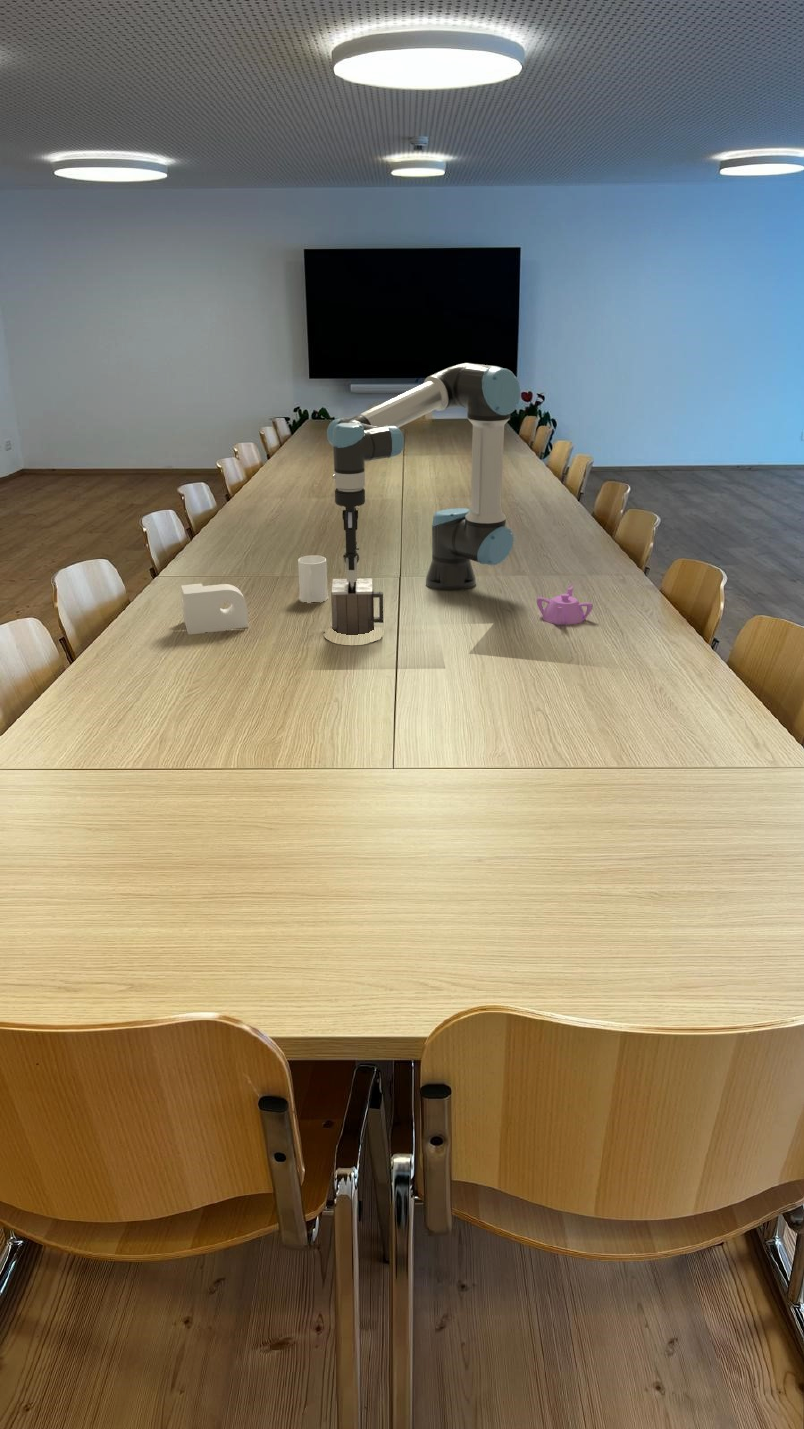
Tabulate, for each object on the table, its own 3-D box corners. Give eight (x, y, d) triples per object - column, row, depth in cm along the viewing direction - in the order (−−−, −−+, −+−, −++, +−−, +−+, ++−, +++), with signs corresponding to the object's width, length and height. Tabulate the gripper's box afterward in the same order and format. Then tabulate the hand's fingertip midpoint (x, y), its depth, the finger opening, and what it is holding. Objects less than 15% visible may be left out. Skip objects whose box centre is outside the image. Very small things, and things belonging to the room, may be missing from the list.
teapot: (569, 614, 273) (571, 584, 269) (595, 631, 262) (598, 600, 258) (531, 619, 269) (533, 589, 265) (556, 637, 258) (559, 606, 254)
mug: (323, 608, 277) (321, 568, 272) (293, 607, 278) (291, 567, 273) (331, 594, 288) (329, 555, 282) (302, 593, 289) (300, 554, 283)
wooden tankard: (383, 624, 265) (382, 577, 259) (383, 640, 254) (383, 592, 249) (332, 624, 264) (330, 578, 259) (330, 640, 254) (329, 592, 248)
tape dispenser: (188, 639, 257) (183, 594, 252) (184, 625, 266) (179, 581, 261) (249, 632, 262) (245, 587, 256) (242, 618, 271) (239, 575, 265)
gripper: (335, 480, 250) (338, 567, 260) (333, 496, 234) (336, 589, 245) (365, 480, 250) (366, 567, 260) (364, 496, 235) (366, 588, 245)
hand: (352, 577), depth 253 cm, fingers closed on plunger, 4 cm apart
